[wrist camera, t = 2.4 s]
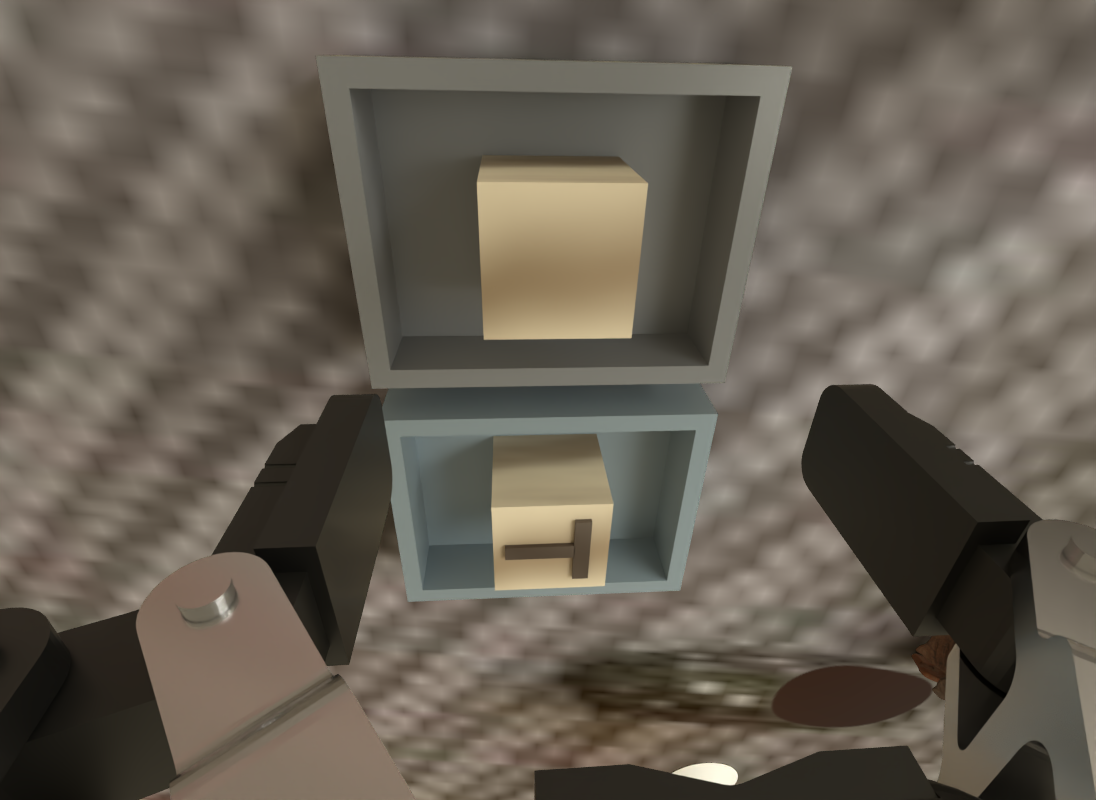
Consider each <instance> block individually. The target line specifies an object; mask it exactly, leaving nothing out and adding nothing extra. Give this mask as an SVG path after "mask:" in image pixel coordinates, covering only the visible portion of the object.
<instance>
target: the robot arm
mask: <svg viewBox="0 0 1096 800" xmlns="http://www.w3.org/2000/svg"><path fill="white" fill-rule="evenodd" d="M802 474H803V478H804V481H805V483H806V485H807V487H808V489H809V490H810V491H811V493H812V494H813V496H814V497H815V499H816V500H817V501H818V503H819V504H820V506H821V507H822V508H823V510H824V511H825V513H826V514H827V516H828V517H829V518H830V520H831V521H832V523H833V524H834V525H835V527H836V528H837V530H838V531H839V532H840V534H841V535H842V537H843V538H844V540H845V541H846V542H847V544H848V545H849V547H850V548H851V549H852V551H853V552H854V554H855V555H856V556H857V558H858V559H859V561H860V562H861V564H862V565H863V566H864V568H865V569H866V571H867V572H868V573H869V575H870V576H871V578H872V579H873V580H874V582H875V583H876V585H877V586H878V588H879V589H880V590H881V592H882V593H883V595H884V596H885V597H886V599H887V600H888V602H889V603H890V604H891V606H892V607H893V609H894V610H895V612H896V613H897V614H898V616H899V617H900V619H901V620H902V621H903V623H904V624H905V626H906V627H907V628H908V630H909V631H910V633H911V634H912V636H913V637H918V636H937V635H950V637H951V638H952V639H953V640H954V642H955V643H956V644H955V645H954V647H953V649H952V650H951V652H950V654H949V655H948V659H947V670H946V691H945V711H944V731H943V752H942V764H941V770H940V774H939V778H938V781H937V782H935V781H932V780H928V779H927V778H926V776H925V775H924V773H923V771H922V769H921V768H920V766H919V764H918V763H917V761H916V759H915V758H914V756H913V754H912V752H911V751H910V749H909V747H908V746H895V747H880V748H865V749H850V750H835V751H820V752H817V753H814V754H812V755H810V756H807V757H805V758H802V759H800V760H798V761H795V762H793V763H790V764H788V765H786V766H783V767H781V768H778V769H776V770H774V771H771V772H769V773H766V774H764V775H762V776H759V777H757V778H754V779H752V780H750V781H747V782H745V783H742V784H738V785H724V784H719V783H714V782H710V781H705V780H700V779H696V778H691V777H686V776H682V775H677V774H672V773H668V772H663V771H658V770H654V769H649V768H644V767H639V766H635V765H630V764H627V765H612V766H597V767H583V768H568V769H553V770H538V771H535V800H1096V529H1095V528H1092V527H1089V526H1086V525H1082V524H1079V523H1075V522H1070V521H1065V520H1042V519H1041V518H1040V517H1039V516H1038V515H1036V514H1035V513H1034V512H1033V511H1032V510H1031V509H1029V508H1028V507H1027V506H1026V505H1025V504H1024V503H1022V502H1021V501H1020V500H1019V499H1018V498H1017V497H1015V496H1014V495H1013V494H1012V493H1011V492H1010V491H1008V490H1007V489H1006V488H1005V487H1004V486H1003V485H1001V484H1000V483H999V482H998V481H997V480H996V479H994V478H993V477H992V476H991V475H990V474H989V473H987V472H986V471H985V470H984V469H983V468H982V467H980V466H979V465H974V461H973V460H972V459H971V458H970V457H969V456H968V455H966V454H965V453H964V452H963V451H962V450H961V449H956V448H955V444H954V443H952V442H951V441H950V440H949V439H948V438H947V437H945V436H944V435H943V434H942V433H941V432H940V431H938V430H937V429H936V428H935V427H934V426H932V425H930V424H928V423H926V422H925V421H923V420H921V419H919V418H917V417H915V416H913V415H911V414H910V413H908V412H907V411H906V410H905V409H903V408H902V407H901V406H900V405H899V404H898V403H897V402H895V401H894V400H893V399H892V398H891V397H890V396H889V395H887V394H886V393H885V392H884V391H883V390H882V389H881V388H879V387H878V386H876V385H872V384H861V385H831V386H829V387H827V388H826V389H825V390H824V391H823V393H822V395H821V397H820V400H819V403H818V406H817V409H816V413H815V416H814V419H813V422H812V425H811V429H810V432H809V435H808V438H807V441H806V444H805V448H804V451H803V455H802ZM392 481H393V480H392V465H391V458H390V452H389V446H388V440H387V434H386V428H385V422H384V416H383V410H382V405H381V401H380V398H379V396H378V395H377V394H364V395H333V396H331V397H330V399H329V401H328V403H327V405H326V407H325V409H324V410H323V412H322V414H321V416H320V418H319V420H318V422H317V424H304V425H299V426H298V427H297V428H296V429H294V430H293V431H292V432H291V433H289V434H288V435H287V436H285V437H284V438H283V439H282V440H280V441H279V442H278V443H277V444H276V446H275V448H274V449H273V451H272V453H271V455H270V456H269V458H268V460H267V461H266V463H265V469H262V470H261V472H260V473H259V475H258V477H257V478H256V480H255V482H254V487H251V489H250V490H249V492H248V494H247V496H246V497H245V499H244V501H243V502H242V504H241V506H240V508H239V509H238V511H237V513H236V514H235V516H234V518H233V520H232V521H231V523H230V525H229V526H228V528H227V530H226V532H225V533H224V535H223V537H222V538H221V540H220V542H219V543H218V545H217V547H216V549H215V550H214V552H213V554H212V555H211V556H208V557H204V558H201V559H199V560H196V561H194V562H191V563H189V564H187V565H185V566H183V567H181V568H180V569H178V570H177V571H175V572H173V573H172V574H170V575H169V576H168V577H166V578H165V579H164V580H163V581H161V582H160V583H159V584H158V585H157V586H156V587H155V588H154V589H153V590H152V591H151V592H150V594H149V595H148V596H147V597H146V599H145V600H144V602H143V604H142V605H141V607H140V609H139V610H136V611H133V612H130V613H127V614H123V615H119V616H116V617H112V618H109V619H105V620H102V621H98V622H95V623H91V624H88V625H84V626H81V627H77V628H74V629H70V630H67V631H63V632H60V633H57V632H56V631H55V629H54V628H53V626H52V625H51V624H50V622H49V621H48V619H47V618H46V616H45V615H43V614H42V613H41V612H39V611H36V610H33V609H29V608H7V609H0V800H139V799H142V798H144V797H147V796H150V795H152V794H155V793H157V792H160V791H163V790H165V789H168V788H169V790H170V797H171V800H416V799H415V797H414V795H413V794H412V792H411V790H410V789H409V787H408V785H407V784H406V782H405V780H404V778H403V777H402V775H401V773H400V772H399V770H398V768H397V767H396V765H395V763H394V762H393V760H392V758H391V757H390V755H389V753H388V752H387V750H386V748H385V746H384V745H383V743H382V741H381V740H380V738H379V736H378V735H377V733H376V731H375V730H374V728H373V726H372V725H371V723H370V721H369V719H368V718H367V716H366V714H365V713H364V711H363V709H362V708H361V706H360V704H359V703H358V701H357V699H356V698H355V696H354V694H353V693H352V691H351V689H350V688H349V686H348V685H347V683H346V682H345V681H344V679H343V678H342V677H341V676H340V675H339V674H337V675H335V676H333V675H332V673H331V672H330V670H329V669H328V667H327V666H333V665H349V663H350V659H351V655H352V651H353V647H354V643H355V639H356V635H357V631H358V627H359V623H360V620H361V616H362V612H363V608H364V604H365V600H366V596H367V592H368V588H369V584H370V580H371V576H372V572H373V568H374V564H375V560H376V556H377V552H378V548H379V544H380V541H381V537H382V533H383V529H384V525H385V521H386V517H387V513H388V509H389V505H390V501H391V495H392Z"/></svg>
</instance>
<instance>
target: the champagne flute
mask: <svg viewBox="0 0 1096 800" xmlns="http://www.w3.org/2000/svg"><path fill="white" fill-rule="evenodd" d="M672 774H677V775H682V776H686V777H691V778H696V779H700V780H705V781H710V782H714V783H719V784H724V785H734V784H735V783H736V781H737V779H738V774H737V772H736V771H735V770H734V769H733V768H732V767H730V766H727V765H724V764H719V763H701V764H695V765H691V766H687V767H684V768H682V769H679V770H677V771H675V772H673V773H672Z"/></svg>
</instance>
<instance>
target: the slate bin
mask: <svg viewBox="0 0 1096 800" xmlns="http://www.w3.org/2000/svg"><path fill="white" fill-rule="evenodd" d="M382 410H383V416H384V422H385V428H386V434H387V440H388V446H389V452H390V458H391V465H392V480H393V481H392V495H391V504H392V510H393V516H394V522H395V528H396V534H397V540H398V546H399V552H400V557H401V563H402V569H403V575H404V581H405V587H406V593H407V599H408V602H412V601H437V600H461V599H485V598H510V597H534V596H558V595H583V594H607V593H631V592H656V591H680V588H681V584H682V579H683V574H684V570H685V565H686V561H687V556H688V551H689V547H690V542H691V537H692V533H693V528H694V523H695V519H696V514H697V509H698V505H699V500H700V495H701V491H702V486H703V481H704V477H705V472H706V467H707V463H708V458H709V453H710V449H711V444H712V439H713V435H714V430H715V425H716V421H717V416H718V413H717V412H716V410H715V408H714V407H713V405H712V403H711V402H710V400H709V398H708V396H707V395H706V393H705V391H704V390H703V388H702V386H701V385H700V383H695V384H633V385H571V386H509V387H447V388H389V389H388V392H387V394H386V397H385V400H384V403H383V406H382ZM561 434H597V438H598V442H599V446H600V450H601V454H602V458H603V462H604V467H605V471H606V475H607V479H608V483H609V487H610V491H611V496H612V500H613V513H612V523H611V532H610V541H609V550H608V560H607V569H606V578H605V586H594V587H569V588H545V589H520V590H495V579H494V556H493V534H492V512H491V502H492V468H493V436H516V435H561Z"/></svg>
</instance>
